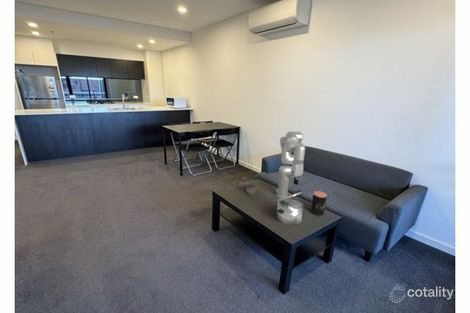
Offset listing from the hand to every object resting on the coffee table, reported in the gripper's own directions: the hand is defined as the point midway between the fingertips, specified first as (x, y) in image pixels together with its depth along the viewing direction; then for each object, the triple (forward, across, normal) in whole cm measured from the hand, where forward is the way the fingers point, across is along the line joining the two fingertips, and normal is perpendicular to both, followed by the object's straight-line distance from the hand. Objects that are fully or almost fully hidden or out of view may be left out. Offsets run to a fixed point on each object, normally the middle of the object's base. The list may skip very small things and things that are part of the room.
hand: (295, 184), depth 172 cm
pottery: (+31, -5, -61) cm, 69 cm away
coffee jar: (+31, -27, +6) cm, 42 cm away
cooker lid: (+13, 0, -5) cm, 14 cm away
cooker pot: (+31, 0, -3) cm, 31 cm away
